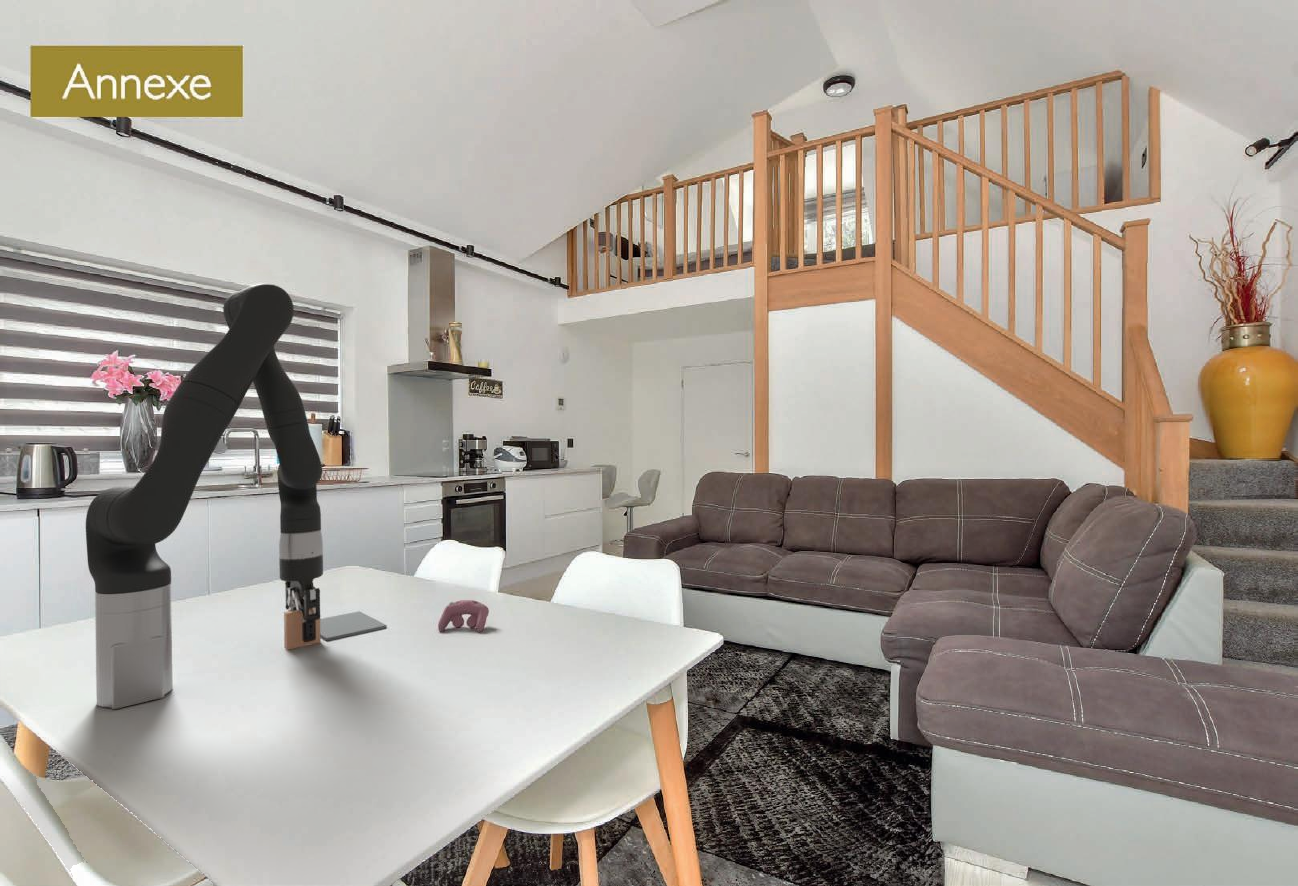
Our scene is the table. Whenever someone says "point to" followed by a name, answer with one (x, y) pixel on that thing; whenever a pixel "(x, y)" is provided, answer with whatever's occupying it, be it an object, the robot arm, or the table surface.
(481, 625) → the video game controller
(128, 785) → the table surface
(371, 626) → the mat
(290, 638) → the tile
